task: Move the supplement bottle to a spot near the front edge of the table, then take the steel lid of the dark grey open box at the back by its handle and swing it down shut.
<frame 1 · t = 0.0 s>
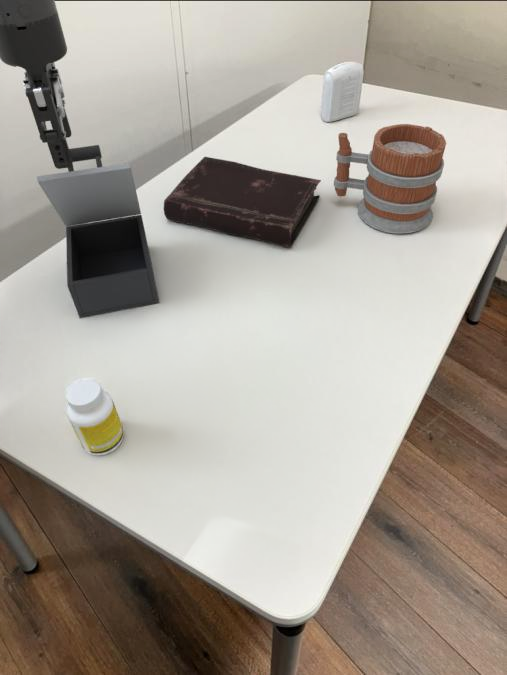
hand: (64, 151, 67), 24 cm above the table, tool pointing down, fingers open, 8 cm apart
dark grey open box: (116, 279, 86), on the table
lid: (92, 183, 78), point 15 cm above the table, hinge at 55.0°
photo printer: (339, 117, 128), on the table
supplement bottle: (103, 438, 65), on the table
mug: (380, 212, 98), on the table
diary: (245, 211, 100), on the table
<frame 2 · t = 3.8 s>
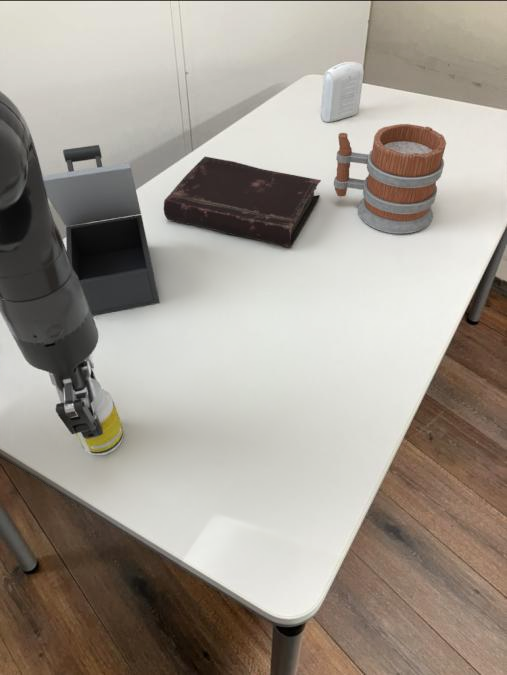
hand: (92, 413, 61), 5 cm above the table, tool pointing down, fingers closed on supplement bottle, 5 cm apart
supplement bottle: (103, 438, 65), on the table, touching gripper
everything else where it was.
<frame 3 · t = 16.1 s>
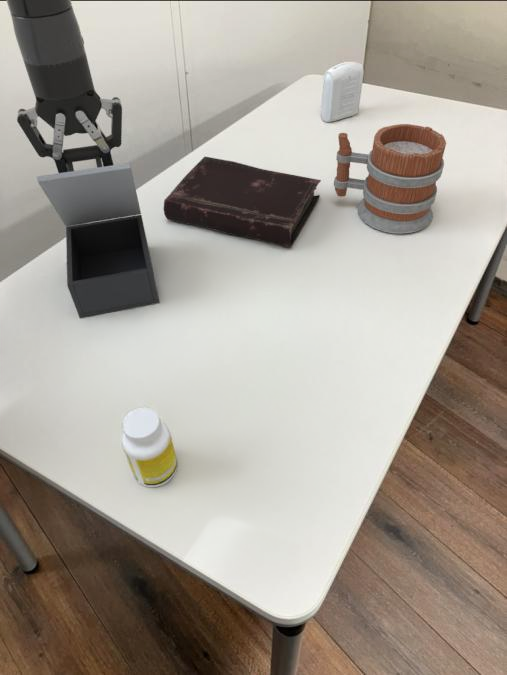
hand: (88, 176, 75), 18 cm above the table, tool pointing down, fingers closed on lid, 5 cm apart
lid: (92, 183, 78), point 15 cm above the table, hinge at 55.0°, touching gripper
supplement bottle: (155, 468, 62), on the table
everything else where it was.
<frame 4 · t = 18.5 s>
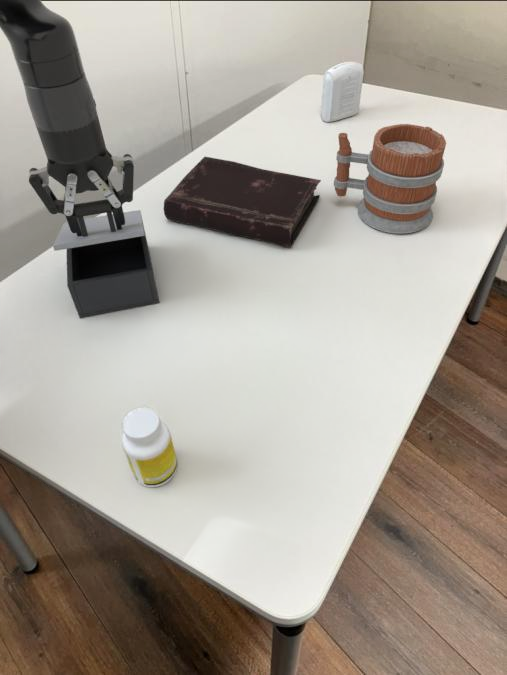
hand: (99, 229, 75), 12 cm above the table, tool pointing down, fingers closed on lid, 5 cm apart
lid: (98, 213, 78), point 12 cm above the table, hinge at 21.7°, touching gripper
everything else where it was.
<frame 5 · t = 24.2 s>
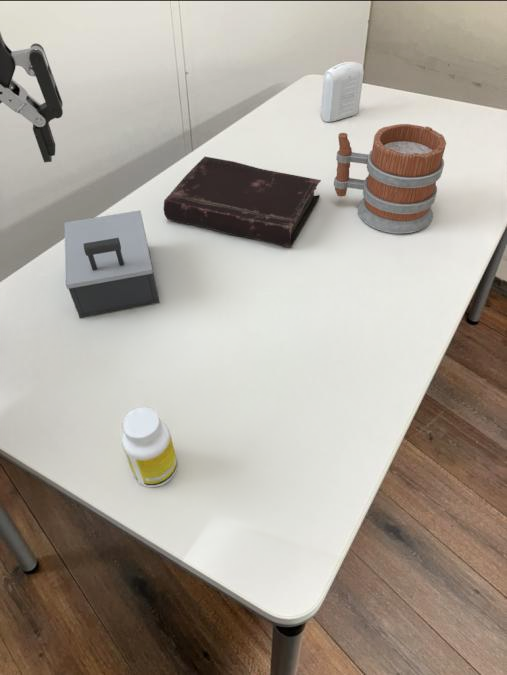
hand: (6, 164, 53), 30 cm above the table, tool pointing down, fingers open, 8 cm apart
lid: (103, 234, 79), point 10 cm above the table, hinge at -0.2°, touching dark grey open box
everything else where it was.
at the end: lid at +0° (first picture: +55°); supplement bottle tilted 0° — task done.
